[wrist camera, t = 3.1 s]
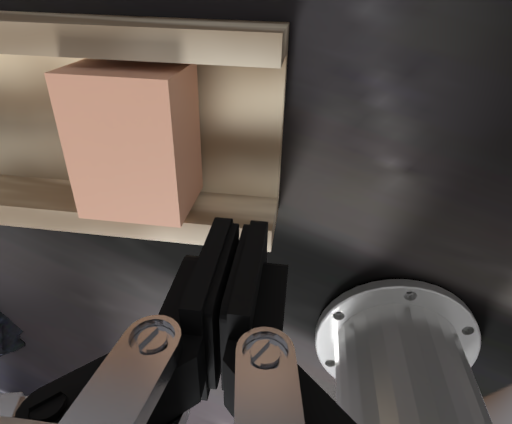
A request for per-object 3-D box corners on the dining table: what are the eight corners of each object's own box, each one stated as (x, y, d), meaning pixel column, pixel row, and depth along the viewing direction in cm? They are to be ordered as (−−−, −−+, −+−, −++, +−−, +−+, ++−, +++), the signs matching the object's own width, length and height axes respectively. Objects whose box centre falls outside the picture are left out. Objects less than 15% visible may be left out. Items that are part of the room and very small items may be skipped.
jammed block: (202, 187, 26) (180, 227, 22) (116, 179, 27) (78, 218, 23) (196, 60, 22) (167, 80, 18) (95, 55, 23) (43, 72, 19)
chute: (278, 210, 28) (270, 252, 24) (-46, 181, 31) (-105, 214, 26) (289, 22, 22) (282, 33, 18) (-117, 5, 24) (-209, 12, 20)
